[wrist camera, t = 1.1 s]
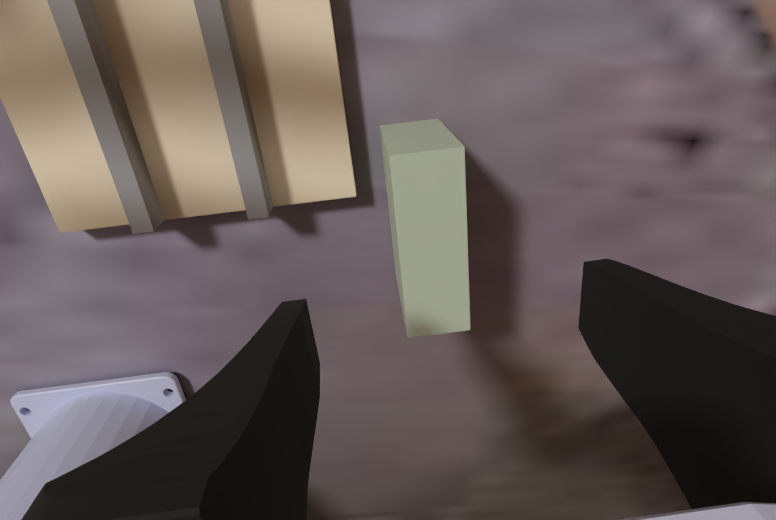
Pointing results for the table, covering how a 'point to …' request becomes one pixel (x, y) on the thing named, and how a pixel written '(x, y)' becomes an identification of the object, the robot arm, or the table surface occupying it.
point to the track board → (175, 107)
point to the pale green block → (428, 225)
